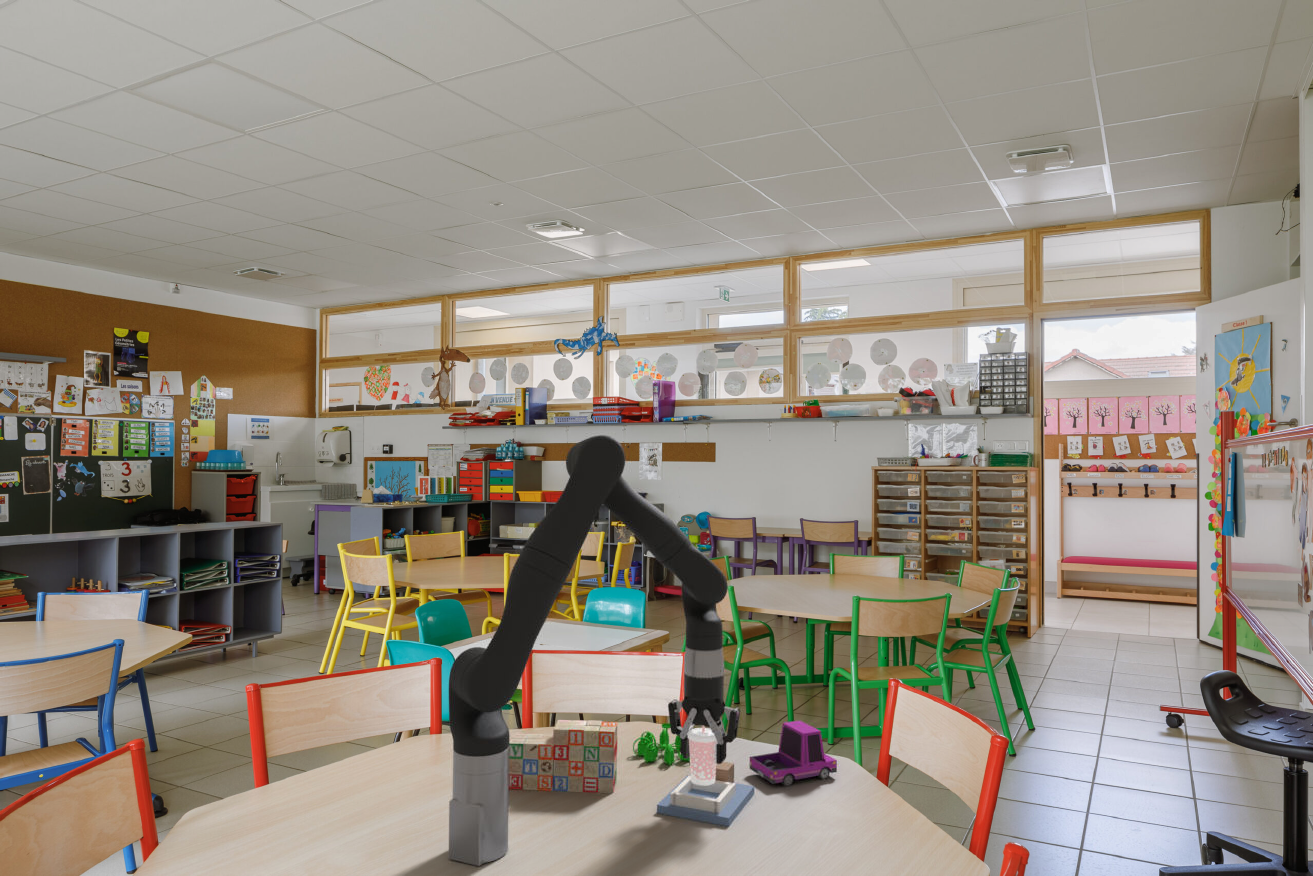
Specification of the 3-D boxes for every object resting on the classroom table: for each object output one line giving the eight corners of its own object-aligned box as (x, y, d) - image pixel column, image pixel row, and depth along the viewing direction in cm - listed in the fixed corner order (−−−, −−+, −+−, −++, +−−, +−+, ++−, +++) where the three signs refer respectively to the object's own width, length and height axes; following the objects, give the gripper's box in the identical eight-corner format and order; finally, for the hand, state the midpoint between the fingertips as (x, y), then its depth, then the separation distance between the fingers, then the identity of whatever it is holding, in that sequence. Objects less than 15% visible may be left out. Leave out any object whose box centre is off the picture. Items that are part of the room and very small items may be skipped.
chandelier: (618, 757, 185) (619, 725, 185) (662, 740, 196) (662, 710, 197) (671, 774, 175) (671, 740, 175) (713, 755, 187) (714, 723, 187)
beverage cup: (706, 790, 154) (706, 713, 154) (680, 781, 158) (680, 706, 158) (725, 780, 159) (726, 705, 159) (700, 772, 163) (700, 699, 163)
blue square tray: (728, 826, 150) (729, 795, 150) (656, 813, 155) (657, 783, 155) (754, 794, 164) (754, 765, 165) (687, 782, 170) (687, 755, 170)
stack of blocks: (506, 790, 166) (507, 727, 166) (513, 778, 172) (514, 718, 172) (614, 793, 164) (614, 730, 165) (617, 781, 171) (617, 720, 171)
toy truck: (839, 780, 172) (839, 731, 173) (775, 792, 166) (775, 741, 166) (809, 762, 182) (809, 716, 182) (747, 773, 176) (747, 725, 176)
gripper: (661, 671, 158) (660, 761, 158) (734, 679, 152) (733, 773, 152) (675, 662, 165) (675, 748, 165) (746, 670, 159) (745, 759, 159)
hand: (703, 759), depth 158 cm, fingers closed on beverage cup, 6 cm apart
